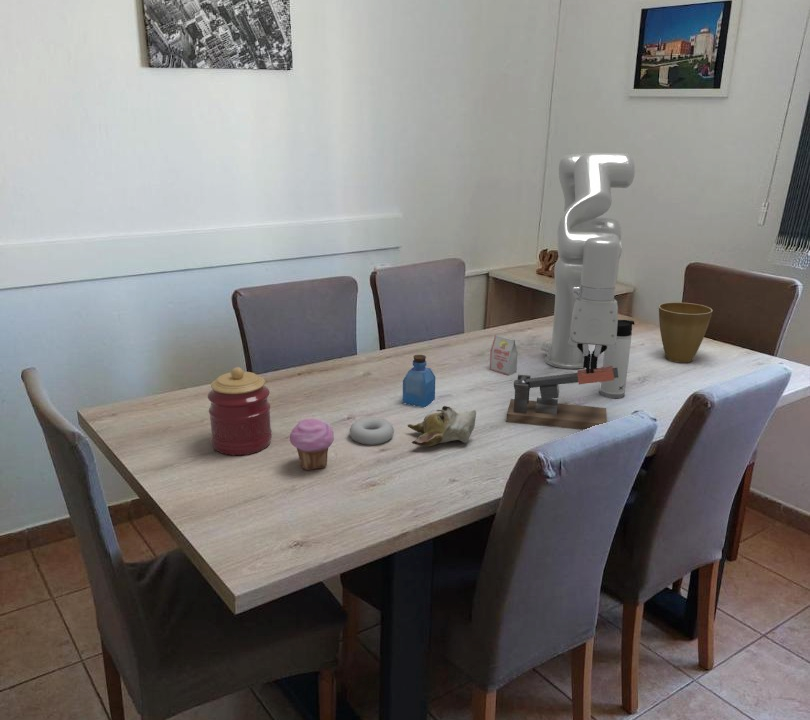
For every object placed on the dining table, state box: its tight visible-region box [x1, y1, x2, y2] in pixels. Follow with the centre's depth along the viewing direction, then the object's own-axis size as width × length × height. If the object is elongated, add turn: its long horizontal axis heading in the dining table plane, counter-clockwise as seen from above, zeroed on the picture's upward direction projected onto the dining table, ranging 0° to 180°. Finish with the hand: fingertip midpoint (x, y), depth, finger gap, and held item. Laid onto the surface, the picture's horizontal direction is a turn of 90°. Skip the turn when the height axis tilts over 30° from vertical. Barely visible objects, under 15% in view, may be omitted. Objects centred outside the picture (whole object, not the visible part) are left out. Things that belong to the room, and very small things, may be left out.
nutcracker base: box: [505, 374, 608, 430], centre depth 170 cm, size 23×10×9 cm, turn 76°
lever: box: [513, 366, 619, 400], centre depth 168 cm, size 24×4×5 cm, turn 76°
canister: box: [207, 366, 273, 456], centre depth 154 cm, size 13×13×18 cm
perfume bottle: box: [402, 354, 436, 408], centre depth 179 cm, size 6×6×12 cm
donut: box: [348, 416, 395, 446], centre depth 160 cm, size 10×4×10 cm
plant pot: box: [658, 301, 713, 364], centre depth 213 cm, size 15×15×16 cm
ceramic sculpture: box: [407, 405, 477, 447], centre depth 158 cm, size 11×9×15 cm
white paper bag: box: [489, 334, 519, 376], centre depth 202 cm, size 4×7×10 cm, turn 45°
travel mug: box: [599, 319, 635, 399], centre depth 184 cm, size 6×7×20 cm
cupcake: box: [289, 418, 335, 471], centre depth 146 cm, size 9×9×10 cm
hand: (589, 370), depth 165 cm, fingers closed
